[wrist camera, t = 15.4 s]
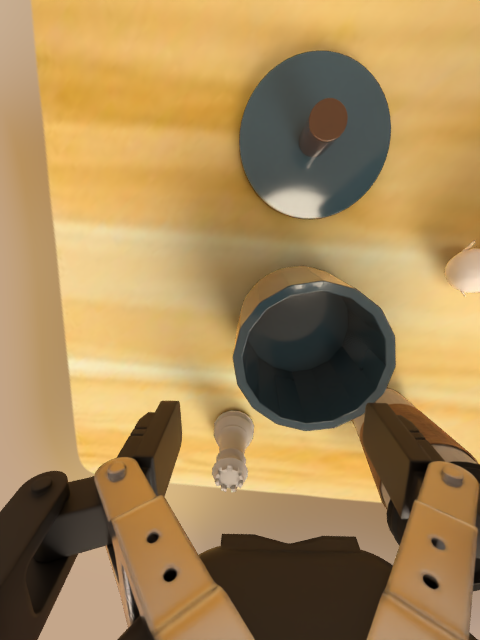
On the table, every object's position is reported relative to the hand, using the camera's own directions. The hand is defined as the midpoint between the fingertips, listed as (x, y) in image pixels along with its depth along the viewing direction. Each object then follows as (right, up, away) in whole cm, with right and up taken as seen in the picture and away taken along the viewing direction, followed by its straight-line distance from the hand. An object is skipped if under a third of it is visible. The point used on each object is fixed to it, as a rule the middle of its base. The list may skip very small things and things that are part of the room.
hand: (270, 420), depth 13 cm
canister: (+4, +4, +18) cm, 19 cm away
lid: (+5, +19, +13) cm, 24 cm away
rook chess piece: (-2, -8, +22) cm, 23 cm away
